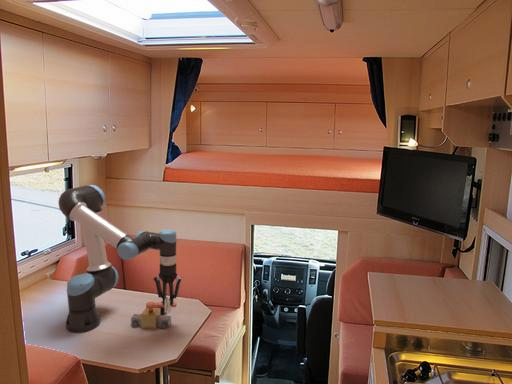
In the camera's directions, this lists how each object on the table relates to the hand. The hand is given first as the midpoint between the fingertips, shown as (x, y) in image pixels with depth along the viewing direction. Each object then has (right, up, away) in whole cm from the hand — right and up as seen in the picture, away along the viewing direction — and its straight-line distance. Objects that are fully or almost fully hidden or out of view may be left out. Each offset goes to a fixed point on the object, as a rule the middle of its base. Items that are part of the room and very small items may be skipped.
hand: (168, 311), depth 189 cm
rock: (-8, -6, +14) cm, 17 cm away
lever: (-4, +2, +2) cm, 5 cm away
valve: (-9, -8, +4) cm, 12 cm away
